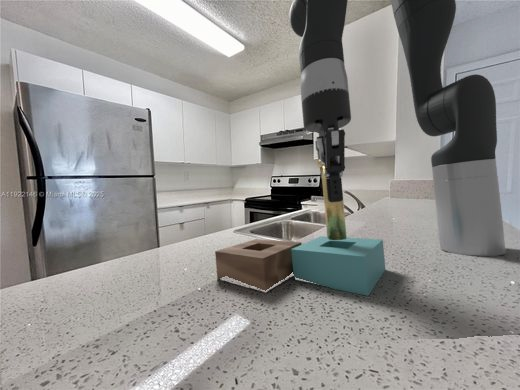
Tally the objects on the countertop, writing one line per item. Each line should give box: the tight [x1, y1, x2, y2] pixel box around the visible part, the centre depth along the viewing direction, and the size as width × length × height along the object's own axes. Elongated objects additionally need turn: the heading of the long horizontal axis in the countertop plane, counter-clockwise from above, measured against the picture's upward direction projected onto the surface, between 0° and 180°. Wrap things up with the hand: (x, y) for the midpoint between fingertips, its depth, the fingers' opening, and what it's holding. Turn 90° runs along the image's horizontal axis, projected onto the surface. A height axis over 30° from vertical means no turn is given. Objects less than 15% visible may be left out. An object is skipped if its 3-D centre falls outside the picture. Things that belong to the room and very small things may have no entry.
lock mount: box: [214, 238, 302, 291], centre depth 38 cm, size 11×11×5 cm
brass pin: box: [316, 159, 348, 240], centre depth 35 cm, size 4×4×13 cm
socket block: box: [291, 235, 387, 297], centre depth 35 cm, size 11×11×5 cm
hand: (333, 201), depth 35 cm, fingers closed on brass pin, 3 cm apart
